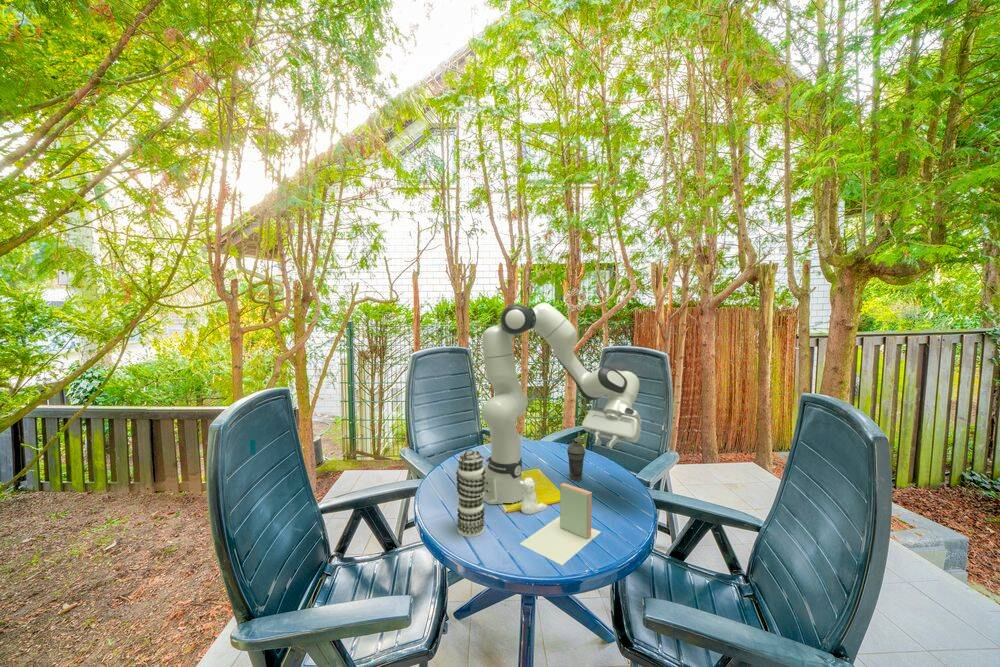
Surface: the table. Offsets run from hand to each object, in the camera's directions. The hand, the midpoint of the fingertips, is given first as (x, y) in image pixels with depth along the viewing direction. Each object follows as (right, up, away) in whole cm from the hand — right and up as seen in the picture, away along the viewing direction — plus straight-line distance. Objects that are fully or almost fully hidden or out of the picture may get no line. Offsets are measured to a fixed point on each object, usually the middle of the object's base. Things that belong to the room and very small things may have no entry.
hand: (602, 446), depth 138 cm
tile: (-12, -24, -11) cm, 29 cm away
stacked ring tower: (-44, -24, -9) cm, 51 cm away
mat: (-16, -24, -14) cm, 33 cm away
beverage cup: (-4, -22, +29) cm, 36 cm away
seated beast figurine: (-24, -24, +3) cm, 34 cm away
